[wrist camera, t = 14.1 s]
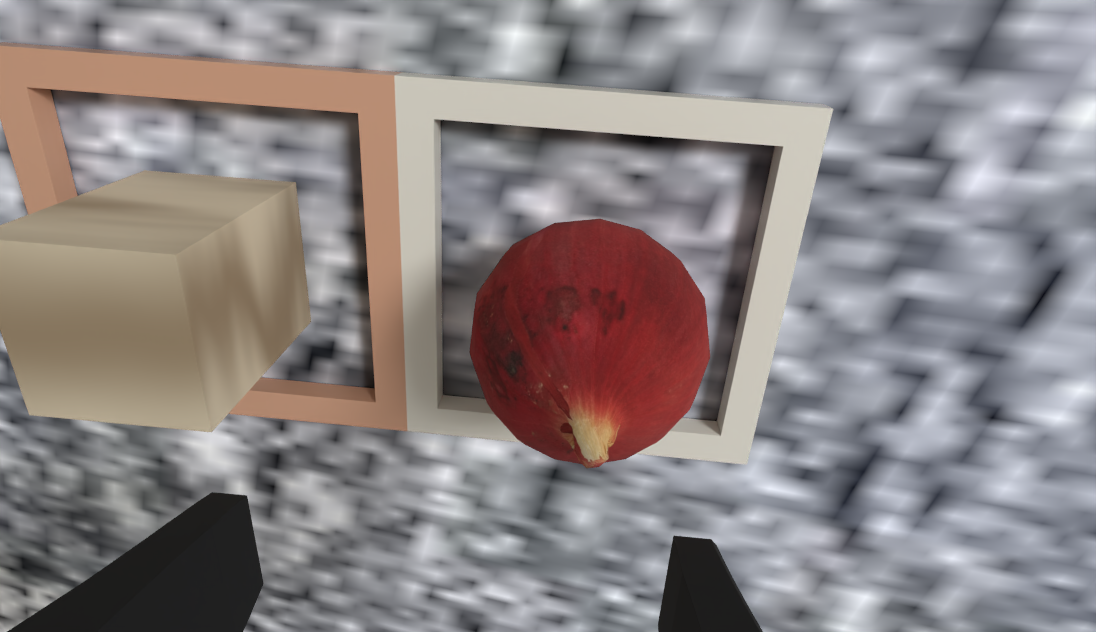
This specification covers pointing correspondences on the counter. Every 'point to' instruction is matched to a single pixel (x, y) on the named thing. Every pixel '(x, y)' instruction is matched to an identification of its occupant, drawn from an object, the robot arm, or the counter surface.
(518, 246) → the onion
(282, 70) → the terracotta frame
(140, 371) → the birch block
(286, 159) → the counter surface
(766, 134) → the cream frame
